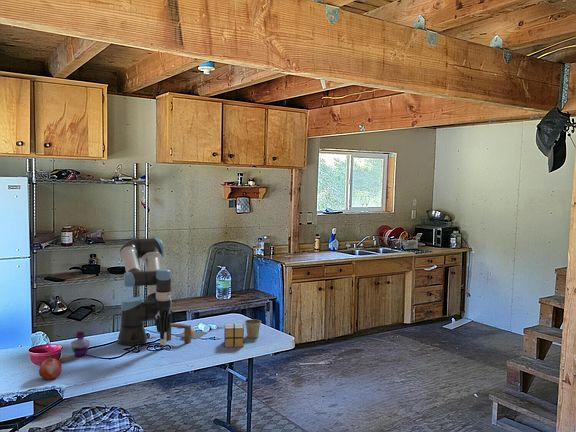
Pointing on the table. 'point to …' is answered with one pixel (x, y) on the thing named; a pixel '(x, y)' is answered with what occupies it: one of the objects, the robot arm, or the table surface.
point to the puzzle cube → (234, 335)
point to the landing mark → (195, 335)
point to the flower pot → (252, 327)
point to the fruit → (50, 368)
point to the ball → (191, 332)
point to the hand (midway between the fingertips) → (163, 344)
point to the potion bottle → (80, 344)
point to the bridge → (187, 332)
